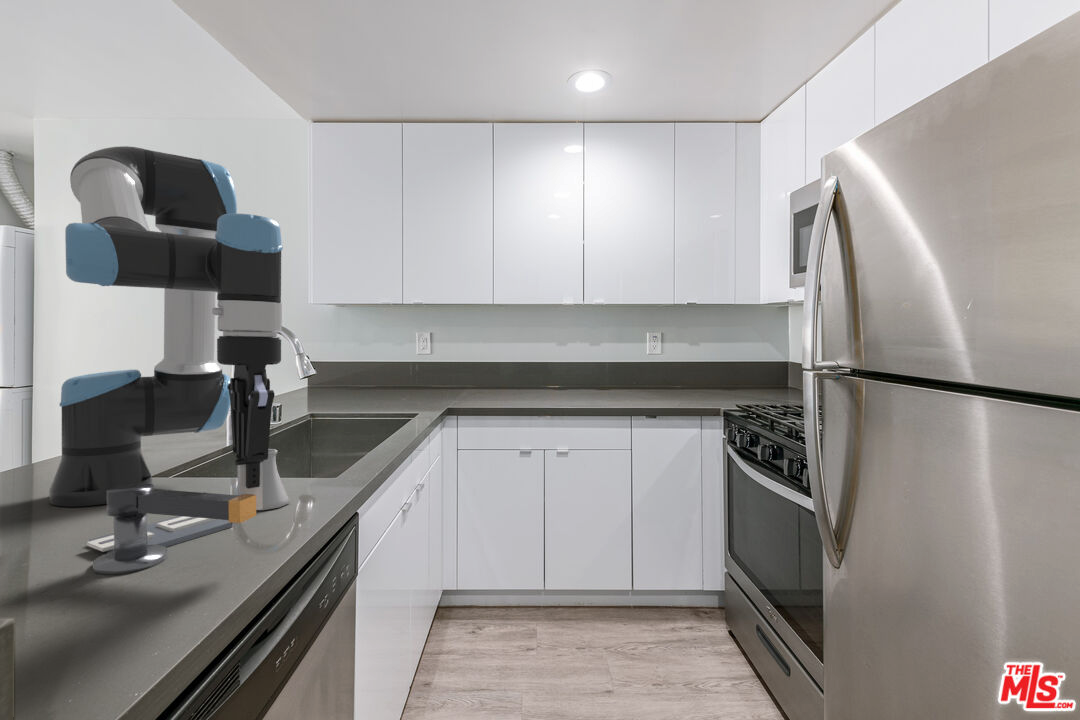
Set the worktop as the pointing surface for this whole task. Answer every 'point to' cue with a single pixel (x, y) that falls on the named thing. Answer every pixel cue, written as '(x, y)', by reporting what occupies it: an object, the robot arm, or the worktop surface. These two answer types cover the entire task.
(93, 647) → the worktop surface
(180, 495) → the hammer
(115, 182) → the robot arm
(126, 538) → the round pedestal stand
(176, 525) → the label board
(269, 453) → the flask
